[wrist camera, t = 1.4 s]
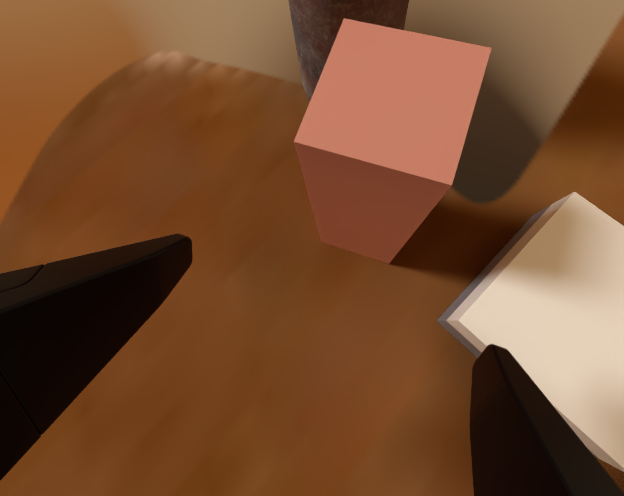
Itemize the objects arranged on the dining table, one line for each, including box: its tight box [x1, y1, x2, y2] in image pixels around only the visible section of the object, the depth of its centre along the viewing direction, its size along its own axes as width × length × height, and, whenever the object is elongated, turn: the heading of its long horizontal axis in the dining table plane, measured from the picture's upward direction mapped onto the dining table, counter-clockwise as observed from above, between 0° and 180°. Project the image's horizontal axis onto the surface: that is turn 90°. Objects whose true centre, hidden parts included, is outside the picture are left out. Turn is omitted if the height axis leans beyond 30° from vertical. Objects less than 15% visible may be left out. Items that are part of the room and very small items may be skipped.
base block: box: [437, 192, 624, 472], centre depth 18 cm, size 10×10×4 cm
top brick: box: [294, 18, 491, 264], centre depth 16 cm, size 5×5×13 cm
